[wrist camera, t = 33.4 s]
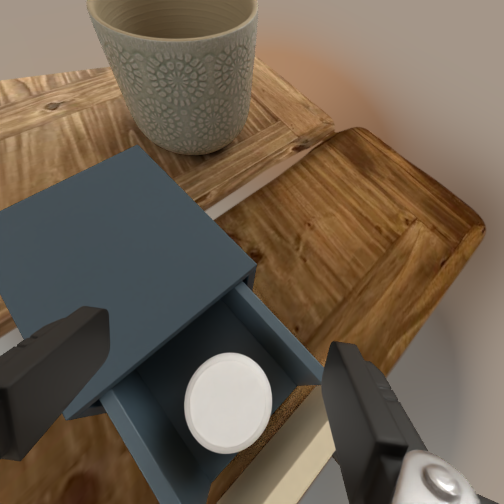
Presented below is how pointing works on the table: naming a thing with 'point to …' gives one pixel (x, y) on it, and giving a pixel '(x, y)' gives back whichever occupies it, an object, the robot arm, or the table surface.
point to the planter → (181, 66)
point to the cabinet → (116, 262)
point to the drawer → (173, 415)
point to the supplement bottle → (228, 403)
